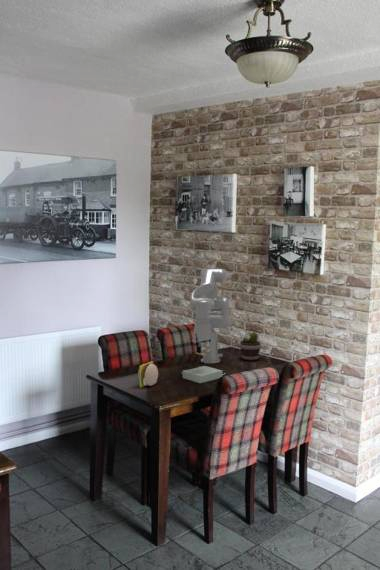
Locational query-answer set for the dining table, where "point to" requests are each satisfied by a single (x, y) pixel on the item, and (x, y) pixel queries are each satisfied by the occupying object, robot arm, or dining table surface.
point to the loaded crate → (204, 348)
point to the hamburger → (147, 374)
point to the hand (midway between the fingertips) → (202, 351)
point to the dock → (202, 374)
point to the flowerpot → (250, 347)
